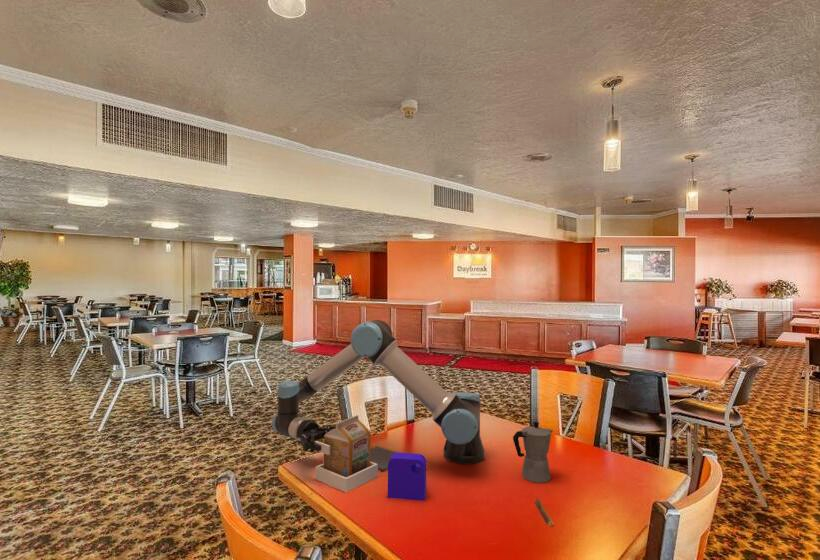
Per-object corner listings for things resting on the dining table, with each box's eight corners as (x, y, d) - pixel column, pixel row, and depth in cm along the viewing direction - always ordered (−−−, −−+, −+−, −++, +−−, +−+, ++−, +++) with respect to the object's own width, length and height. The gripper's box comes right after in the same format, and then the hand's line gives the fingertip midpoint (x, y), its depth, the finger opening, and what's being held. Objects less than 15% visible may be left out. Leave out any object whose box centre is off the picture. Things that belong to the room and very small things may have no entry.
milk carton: (348, 488, 129) (349, 426, 130) (323, 480, 135) (324, 420, 135) (369, 475, 138) (370, 417, 138) (345, 468, 144) (345, 412, 144)
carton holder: (377, 476, 138) (378, 464, 138) (345, 492, 126) (346, 479, 126) (347, 465, 146) (347, 453, 146) (315, 479, 135) (315, 466, 135)
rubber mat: (409, 458, 152) (409, 456, 152) (383, 471, 141) (383, 469, 141) (376, 448, 162) (376, 446, 162) (350, 459, 151) (350, 457, 151)
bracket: (424, 501, 122) (424, 460, 122) (387, 498, 124) (388, 457, 124) (430, 474, 140) (430, 438, 140) (398, 472, 141) (398, 436, 142)
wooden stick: (542, 504, 121) (542, 496, 121) (556, 528, 109) (556, 519, 109) (533, 504, 121) (533, 496, 121) (546, 527, 109) (546, 519, 109)
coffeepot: (543, 468, 145) (543, 416, 145) (562, 480, 136) (562, 424, 137) (505, 474, 140) (505, 420, 140) (522, 487, 131) (522, 429, 131)
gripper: (331, 431, 160) (371, 444, 146) (273, 451, 140) (314, 468, 127) (331, 411, 160) (371, 423, 147) (274, 428, 140) (314, 443, 127)
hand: (345, 444), depth 137 cm, fingers open, 13 cm apart
